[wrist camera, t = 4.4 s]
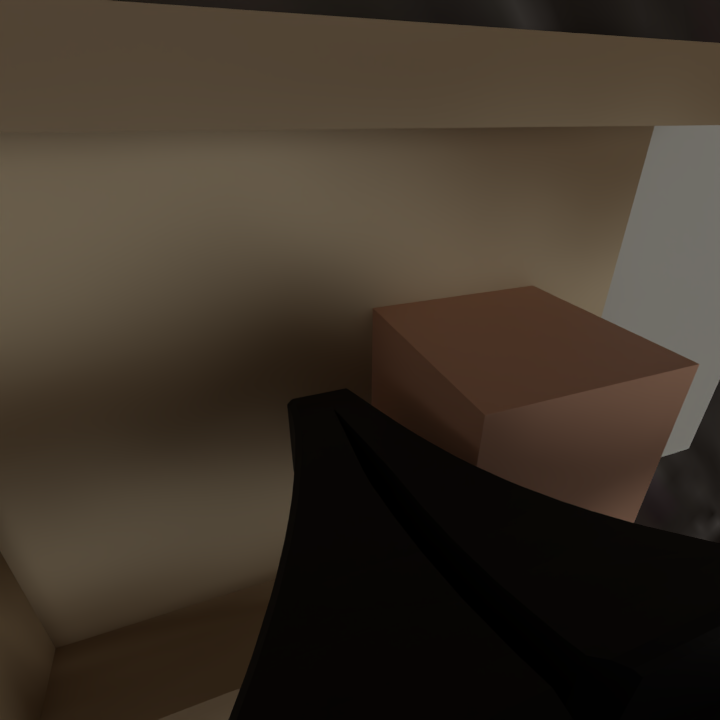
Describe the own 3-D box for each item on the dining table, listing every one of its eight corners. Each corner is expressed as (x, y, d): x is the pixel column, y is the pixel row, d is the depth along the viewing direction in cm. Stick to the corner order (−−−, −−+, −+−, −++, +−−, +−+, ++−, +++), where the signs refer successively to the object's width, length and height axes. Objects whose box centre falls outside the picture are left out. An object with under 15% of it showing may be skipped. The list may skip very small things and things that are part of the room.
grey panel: (679, 442, 19) (688, 448, 19) (545, 484, 17) (552, 491, 17) (818, 121, 13) (835, 121, 13) (640, 122, 11) (655, 122, 11)
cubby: (539, 507, 17) (599, 571, 15) (22, 675, 12) (-16, 817, 10) (656, 64, 11) (805, 49, 8) (-418, 15, 5) (-935, -73, 3)
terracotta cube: (505, 424, 14) (627, 537, 10) (370, 458, 13) (454, 602, 9) (532, 285, 12) (699, 364, 8) (372, 308, 10) (485, 415, 7)
